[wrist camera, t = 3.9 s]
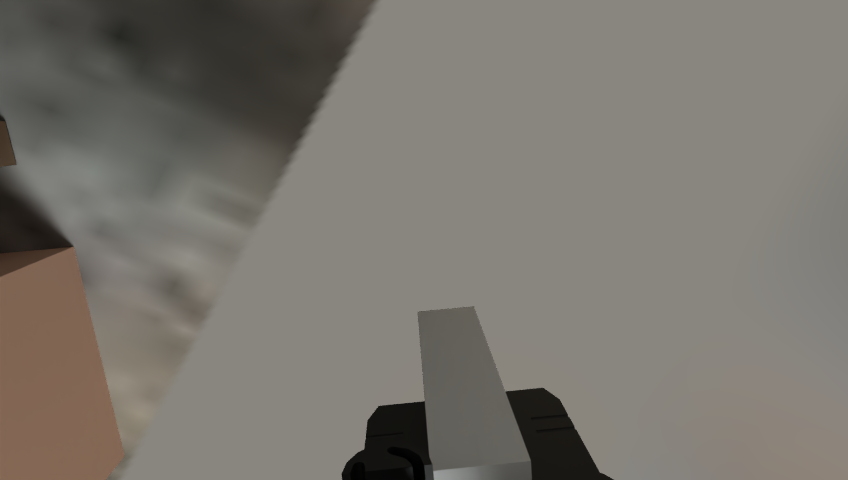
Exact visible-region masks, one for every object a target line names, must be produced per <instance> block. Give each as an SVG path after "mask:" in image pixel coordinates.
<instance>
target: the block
mask: <svg viewBox="0 0 848 480" xmlns="http://www.w3.org/2000/svg"><path fill="white" fill-rule="evenodd" d="M123 457H124V451H123V447H122V443H121V439H120V435H119V431H118V427H117V423H116V419H115V414H114V410H113V406H112V402H111V398H110V394H109V390H108V386H107V382H106V377H105V373H104V369H103V365H102V361H101V357H100V353H99V349H98V345H97V340H96V336H95V332H94V328H93V324H92V320H91V316H90V312H89V307H88V303H87V299H86V295H85V291H84V287H83V283H82V279H81V275H80V270H79V266H78V262H77V258H76V254H75V250H74V247H65V248H54V249H43V250H32V251H21V252H10V253H0V480H106V478H107V477H108V476H109V475H110V473H111V472H112V471H113V470H114V468H115V467H116V466H117V465H118V463H119V462H120V461H121V460H122V459H123Z"/></svg>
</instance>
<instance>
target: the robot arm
mask: <svg viewBox="0 0 848 480" xmlns="http://www.w3.org/2000/svg"><path fill="white" fill-rule="evenodd" d="M418 322H419V335H420V347H421V359H422V372H423V384H424V397H425V401H424V402H414V403H404V404H394V405H384V406H378V408H377V409H376V410H375V412H374V413H373V414H372V416H371V417H370V418H369V419H368V422H367V431H366V440H365V449H364V450H362V451H360V452H358V453H357V454H356V455H355V456H353V457H352V458H351V459H350V460H349V461H348V462H347V463H346V465H345V468H344V470H343V472H342V480H613V479H612V478H610V477H608V476H606V475H605V474H602V473H600V472H599V470H598V469H597V467H596V465H595V463H594V462H593V460H592V458H591V456H590V454H589V452H588V450H587V449H586V447H585V445H584V443H583V441H582V440H581V438H580V436H579V434H578V432H577V430H575V428H574V425H573V423H572V421H571V419H570V418H569V417H568V414H567V412H566V410H565V408H564V407H563V405H562V403H561V401H560V399H558V398H557V397H555V396H554V395H553V394H551V393H550V392H548V391H547V390H545V389H544V388H537V389H527V390H517V391H507V392H505V390H504V387H503V385H502V381H501V379H500V376H499V373H498V371H497V368H496V365H495V363H494V360H493V357H492V354H491V352H490V349H489V346H488V344H487V341H486V338H485V336H484V333H483V330H482V327H481V325H480V322H479V319H478V317H477V314H476V311H475V309H474V306H472V307H463V308H452V309H441V310H431V311H421V312H418Z"/></svg>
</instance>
